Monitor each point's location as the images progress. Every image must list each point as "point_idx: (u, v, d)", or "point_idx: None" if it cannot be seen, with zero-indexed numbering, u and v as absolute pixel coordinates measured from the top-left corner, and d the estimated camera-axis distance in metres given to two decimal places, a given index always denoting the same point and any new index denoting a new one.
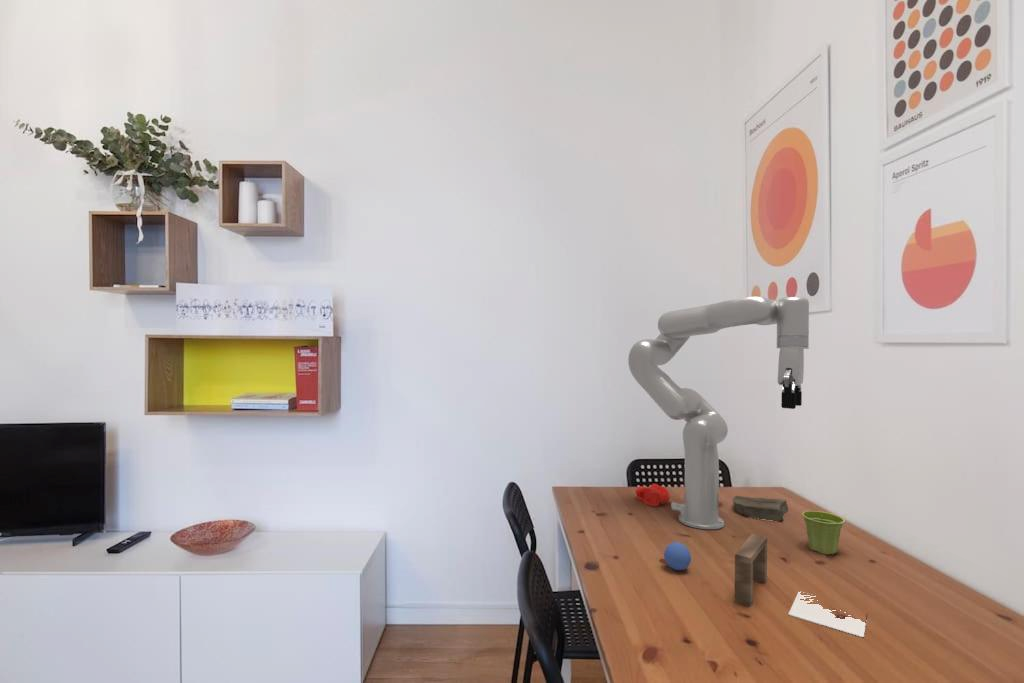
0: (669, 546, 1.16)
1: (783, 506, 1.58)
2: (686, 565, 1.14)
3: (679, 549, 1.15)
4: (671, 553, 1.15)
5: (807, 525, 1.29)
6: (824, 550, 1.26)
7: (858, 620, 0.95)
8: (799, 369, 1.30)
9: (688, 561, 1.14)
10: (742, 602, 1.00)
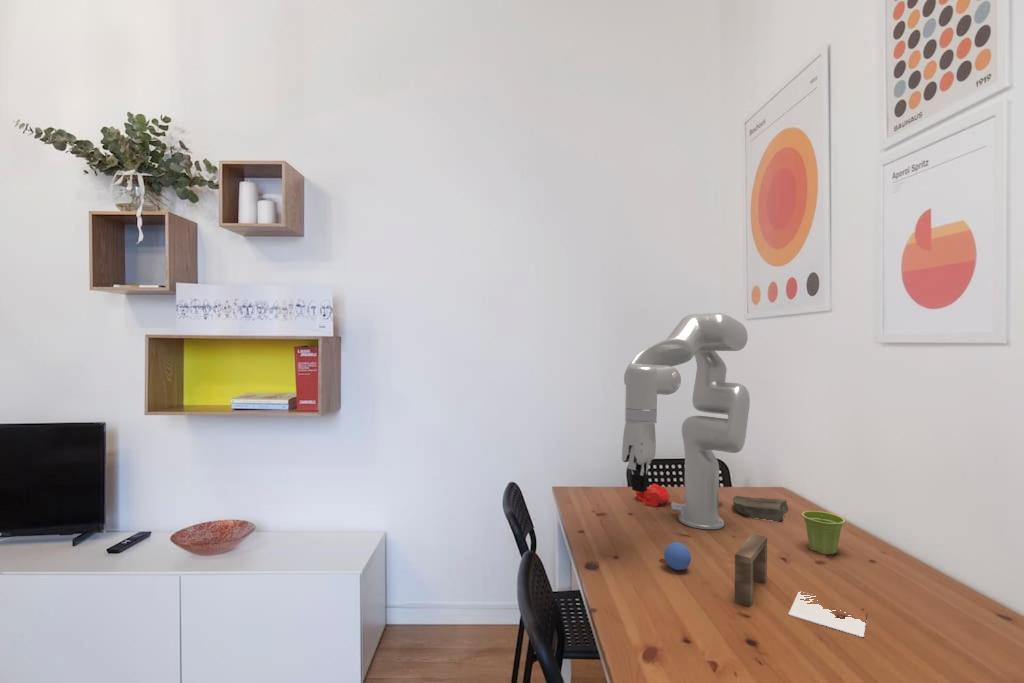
0: (669, 546, 1.16)
1: (783, 506, 1.58)
2: (686, 565, 1.14)
3: (679, 549, 1.15)
4: (671, 553, 1.15)
5: (807, 525, 1.29)
6: (824, 550, 1.26)
7: (858, 620, 0.95)
8: (643, 447, 1.18)
9: (688, 561, 1.14)
10: (742, 602, 1.00)
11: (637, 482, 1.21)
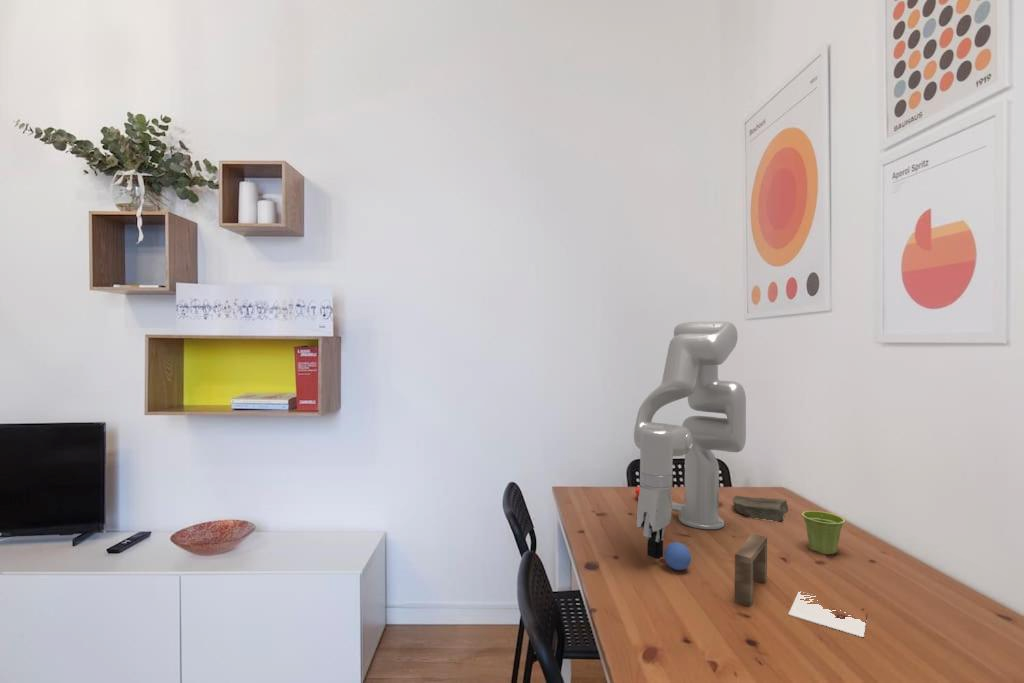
0: (669, 546, 1.16)
1: (783, 506, 1.58)
2: (686, 565, 1.14)
3: (679, 549, 1.15)
4: (671, 553, 1.15)
5: (807, 525, 1.29)
6: (824, 550, 1.26)
7: (858, 620, 0.95)
8: (658, 514, 1.16)
9: (688, 561, 1.14)
10: (742, 602, 1.00)
11: (652, 548, 1.19)
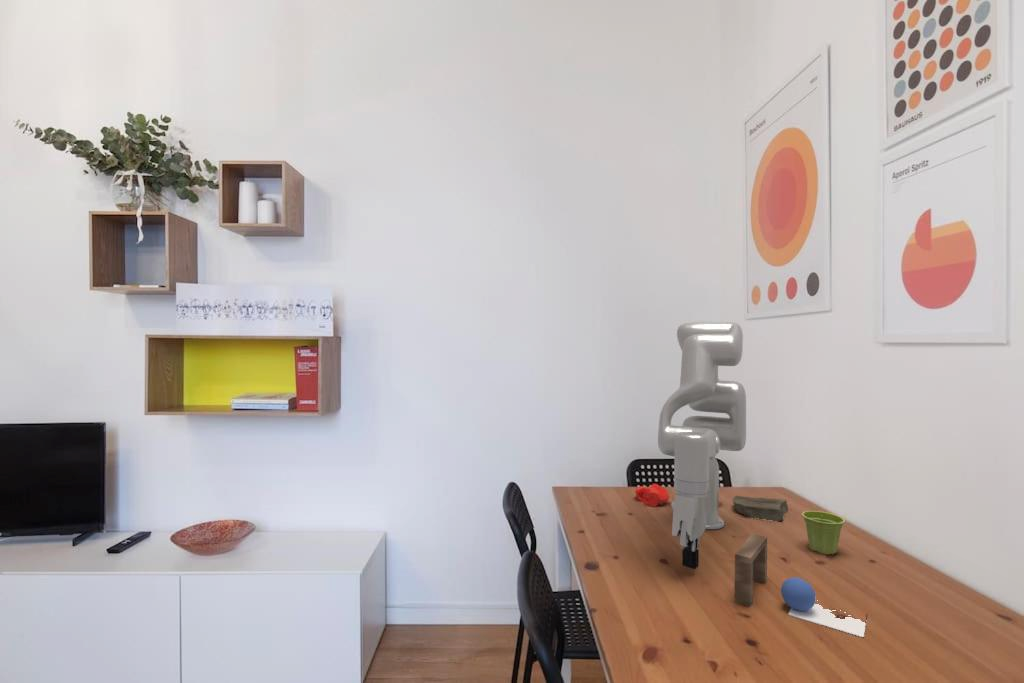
0: (810, 596, 0.96)
1: (783, 506, 1.58)
2: None
3: (807, 608, 0.97)
4: (802, 602, 0.96)
5: (807, 525, 1.29)
6: (824, 550, 1.26)
7: (858, 620, 0.95)
8: (695, 522, 1.11)
9: None
10: (742, 602, 1.00)
11: (688, 558, 1.13)
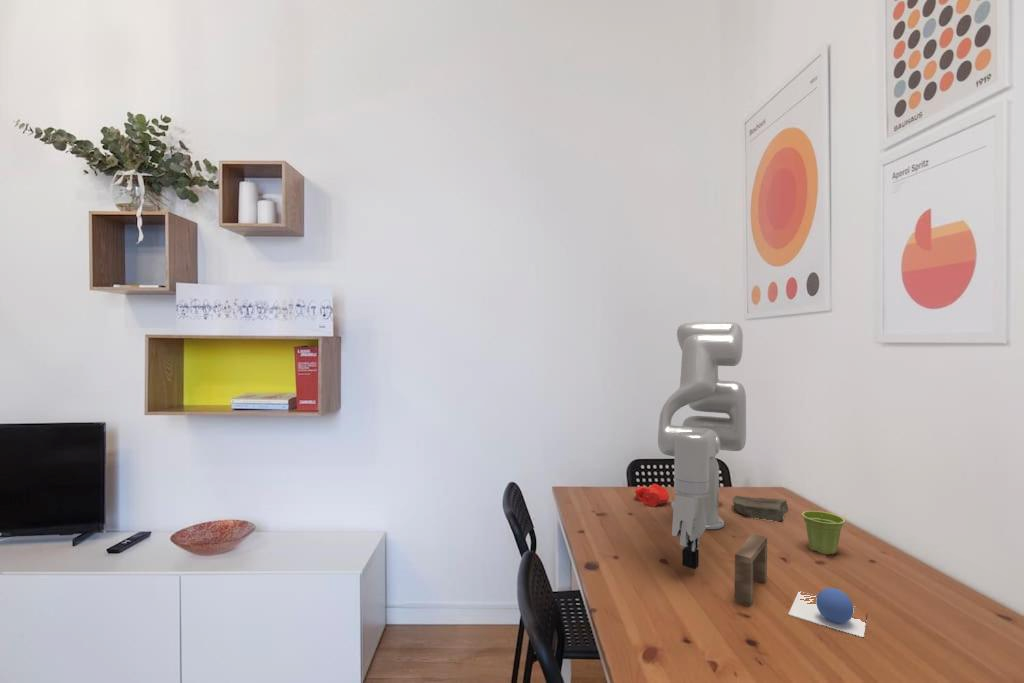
0: None
1: (783, 506, 1.58)
2: (825, 591, 0.95)
3: (818, 609, 0.95)
4: (826, 615, 0.93)
5: (807, 525, 1.29)
6: (824, 550, 1.26)
7: (858, 620, 0.95)
8: (695, 522, 1.11)
9: (821, 591, 0.96)
10: (742, 602, 1.00)
11: (688, 558, 1.13)
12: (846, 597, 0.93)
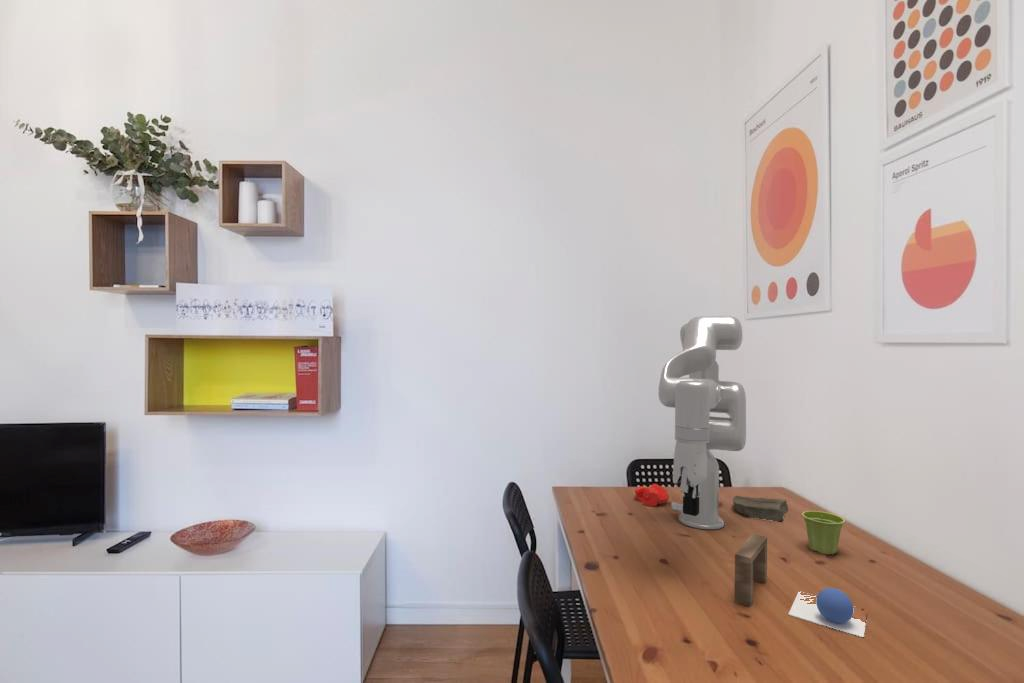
0: None
1: (783, 506, 1.58)
2: (825, 591, 0.95)
3: (818, 609, 0.95)
4: (826, 615, 0.93)
5: (807, 525, 1.29)
6: (824, 550, 1.26)
7: (858, 620, 0.95)
8: (696, 468, 1.11)
9: (821, 591, 0.96)
10: (742, 602, 1.00)
11: (689, 505, 1.14)
12: (846, 597, 0.93)
